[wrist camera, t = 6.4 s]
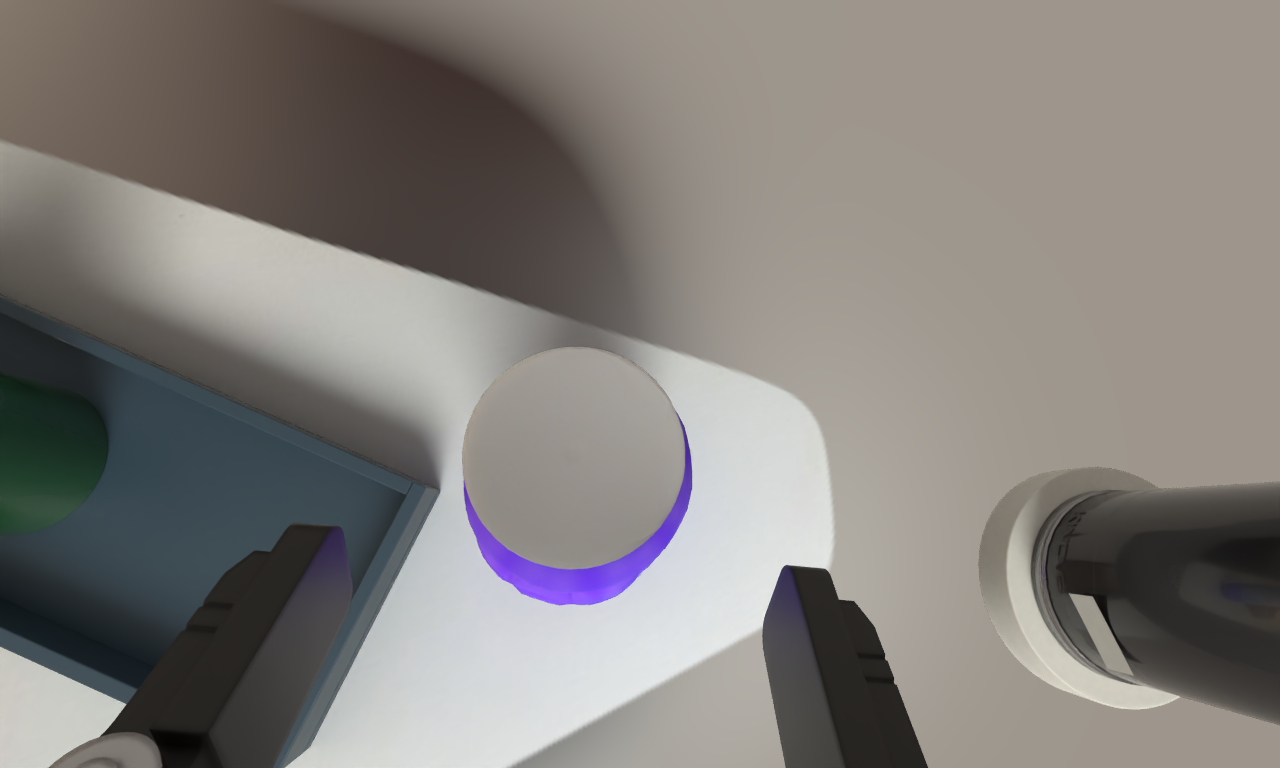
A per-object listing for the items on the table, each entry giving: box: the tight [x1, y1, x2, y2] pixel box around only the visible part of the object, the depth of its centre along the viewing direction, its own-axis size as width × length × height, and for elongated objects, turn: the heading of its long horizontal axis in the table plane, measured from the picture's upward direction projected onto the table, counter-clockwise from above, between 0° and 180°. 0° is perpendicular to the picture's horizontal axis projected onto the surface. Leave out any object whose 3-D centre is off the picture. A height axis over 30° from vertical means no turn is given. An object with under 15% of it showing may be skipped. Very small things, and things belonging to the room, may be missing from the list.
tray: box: [0, 294, 440, 768], centre depth 25 cm, size 32×11×3 cm, turn 67°
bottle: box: [462, 347, 692, 605], centre depth 19 cm, size 7×6×17 cm
